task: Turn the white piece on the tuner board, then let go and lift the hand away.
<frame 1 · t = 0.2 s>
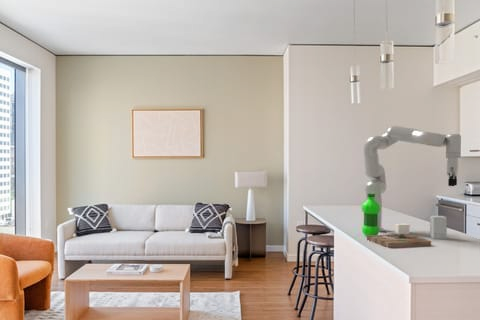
hand: (452, 185, 235), 31 cm above the countertop, tool pointing down, fingers open, 9 cm apart
tuner board: (397, 242, 225), on the countertop
plastic bottle: (370, 236, 242), on the countertop
white piece: (397, 230, 227), point 6 cm above the countertop, hinge at 0.0°
supplement box: (438, 238, 239), on the countertop
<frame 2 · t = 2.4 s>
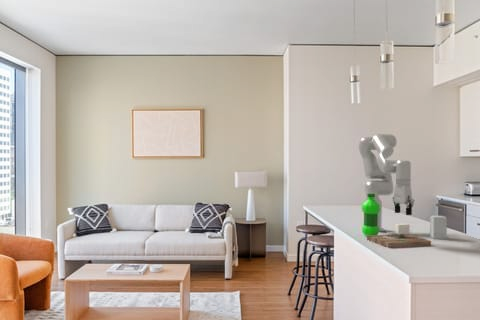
hand: (403, 213, 227), 15 cm above the countertop, tool pointing down, fingers open, 9 cm apart
nothing on the countertop moved.
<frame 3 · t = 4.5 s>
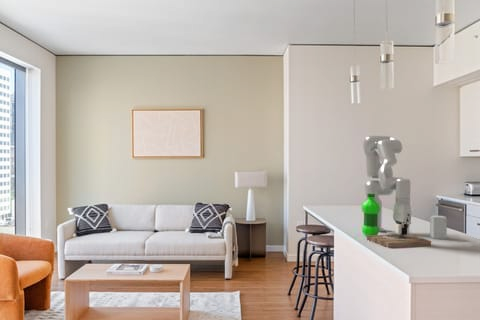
hand: (402, 233, 227), 4 cm above the countertop, tool pointing down, fingers closed on white piece, 3 cm apart
white piece: (397, 230, 227), point 6 cm above the countertop, hinge at 0.0°, touching gripper
everything else where it was.
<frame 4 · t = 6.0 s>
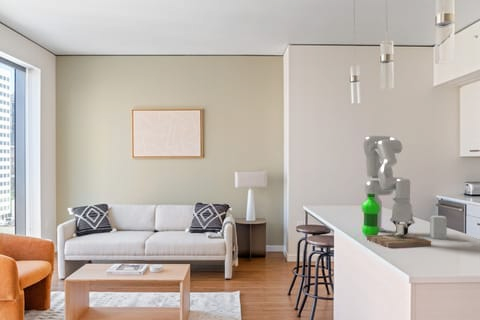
hand: (402, 233, 227), 4 cm above the countertop, tool pointing down, fingers closed on white piece, 3 cm apart
white piece: (400, 231, 225), point 6 cm above the countertop, hinge at 32.3°, touching gripper
everything else where it was.
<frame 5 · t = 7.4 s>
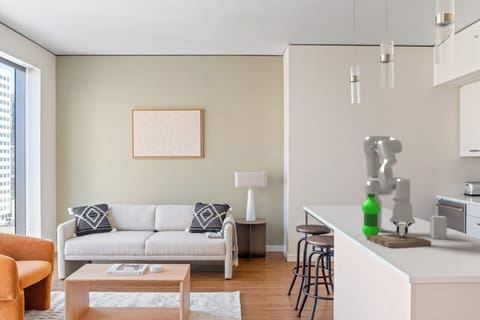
hand: (402, 233, 227), 4 cm above the countertop, tool pointing down, fingers closed on white piece, 3 cm apart
white piece: (402, 231, 225), point 6 cm above the countertop, hinge at 51.7°, touching gripper
everything else where it was.
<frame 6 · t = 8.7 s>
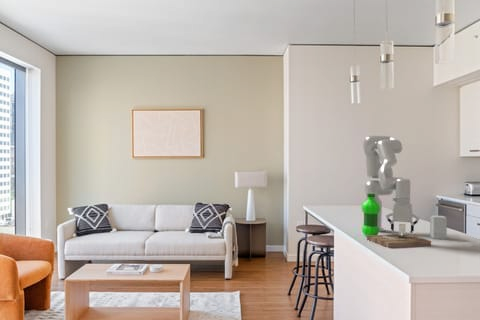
hand: (402, 231, 227), 6 cm above the countertop, tool pointing down, fingers open, 9 cm apart
white piece: (401, 231, 225), point 6 cm above the countertop, hinge at 51.4°
everything else where it was.
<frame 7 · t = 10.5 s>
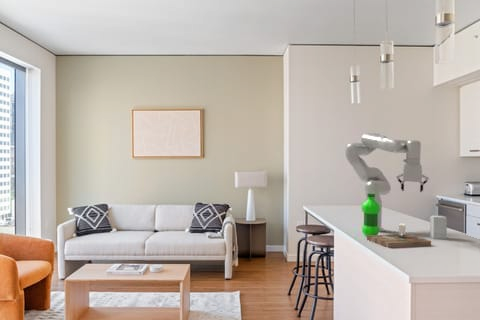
hand: (411, 191, 238), 27 cm above the countertop, tool pointing down, fingers open, 9 cm apart
nothing on the countertop moved.
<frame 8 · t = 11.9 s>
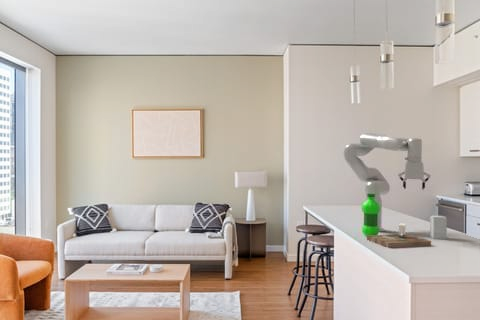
hand: (413, 189, 239), 28 cm above the countertop, tool pointing down, fingers open, 9 cm apart
nothing on the countertop moved.
at the end: white piece at +51° (first picture: +0°); the gripper is holding nothing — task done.
